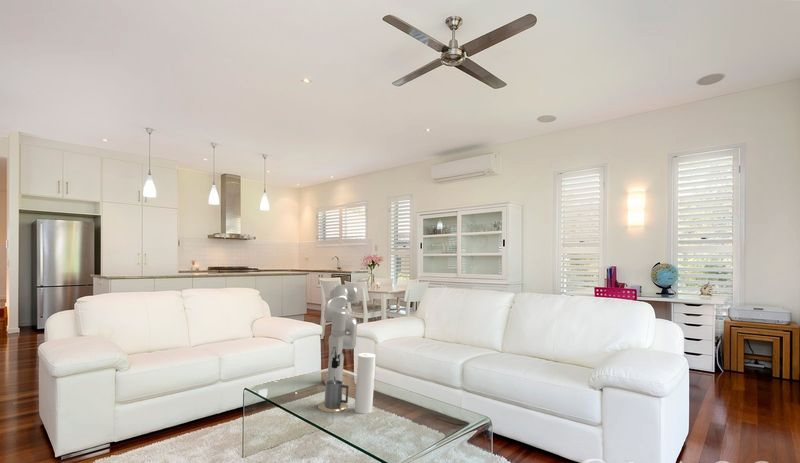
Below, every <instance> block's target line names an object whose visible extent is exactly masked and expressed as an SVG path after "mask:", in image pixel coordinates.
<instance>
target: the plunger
mask: <svg viewBox="0 0 800 463" xmlns="http://www.w3.org/2000/svg"><path fill="white" fill-rule="evenodd" d="M337 361H338V365H339V358H338V359H337ZM335 381H336V368H335V369H334V383H329V384H330V385H339V383H335Z"/></svg>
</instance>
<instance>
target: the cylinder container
mask: <svg viewBox="0 0 800 463" xmlns="http://www.w3.org/2000/svg"><path fill="white" fill-rule="evenodd" d="M376 356H377V355H376V354H375V353H371V352H361V353H358V354H357V367H356V368H357V369H356V383H355V384H356V385H355V397H354V398H355V399H354V412H355V413H357V414H363V415H364V414H370V413H372V412H373V400H374V389H375V388H374V387H375V384H374V383H375V373H376V372H375V371H376V370H375V369H376Z"/></svg>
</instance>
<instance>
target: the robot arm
mask: <svg viewBox="0 0 800 463" xmlns="http://www.w3.org/2000/svg"><path fill="white" fill-rule="evenodd" d="M358 294H359V293H358V288H357V286H355V285H353V284H338V285H336V286H335V287H334V288H333V289H331V290H330V292H329V296H330V297H329V299H330V300H328V301H326V303H325V306H324V309H323V319H324V320H325V321H327V322H331V331H330V335H329V337H328V362H327V363H328V365H327V377H326V378H327V379H325V380H324V385H326V382H327V381H329V380H334V369H335V368H336V380H339V381H342V380H343V378H344V377H343V375H344V374H343V373H344V363H345V362H344V361H345V355H344V352H343V350H354V349H355V348H356V345H357V329H358V322H357V318H356V317H354V316H350V311H349V310H348V309H347V307H346V306H347V304H348V303H350V304H351V303H352V304H353V303H355V302H356V301H357V300H358V296H359V295H358ZM346 332H348V333H346ZM338 358H339V365H338V361H337V359H338ZM344 382H345V381H344ZM344 382H343V384H344V385H345V383H344Z"/></svg>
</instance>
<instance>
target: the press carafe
mask: <svg viewBox="0 0 800 463" xmlns="http://www.w3.org/2000/svg"><path fill="white" fill-rule="evenodd" d="M329 383H334V380H329V381H327V382H326V384H325V389H324V390H325V391H324V401H321V402H319V403H318V404H317V409H318V410H320V411H322V412H325V413H341V412H343V411H346V410H347V409H348V402H349V389H350V385H348V384H347V385H346V384H344V385H343V382H342V381H339V380H336V381H335V383H339V385H330V384H329ZM343 388H344V389H345V399H343V390H344V389H343Z"/></svg>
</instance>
